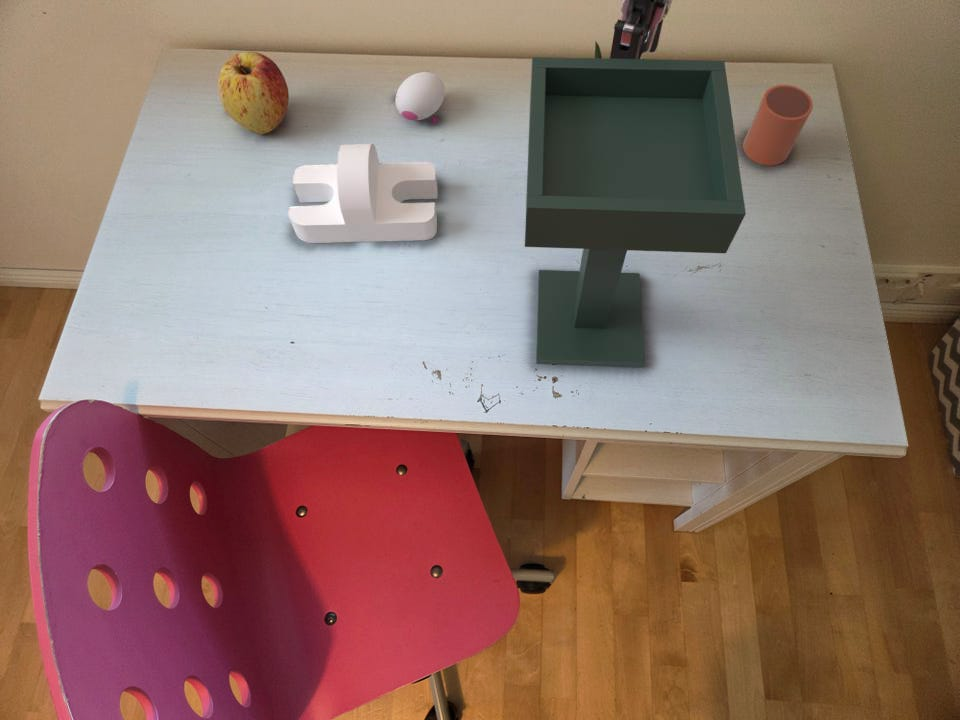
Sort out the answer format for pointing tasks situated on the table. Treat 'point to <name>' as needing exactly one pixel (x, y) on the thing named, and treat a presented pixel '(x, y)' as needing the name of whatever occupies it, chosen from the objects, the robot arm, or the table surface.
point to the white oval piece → (420, 96)
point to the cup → (777, 124)
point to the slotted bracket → (364, 199)
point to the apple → (253, 91)
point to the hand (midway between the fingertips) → (633, 73)
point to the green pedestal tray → (623, 189)
